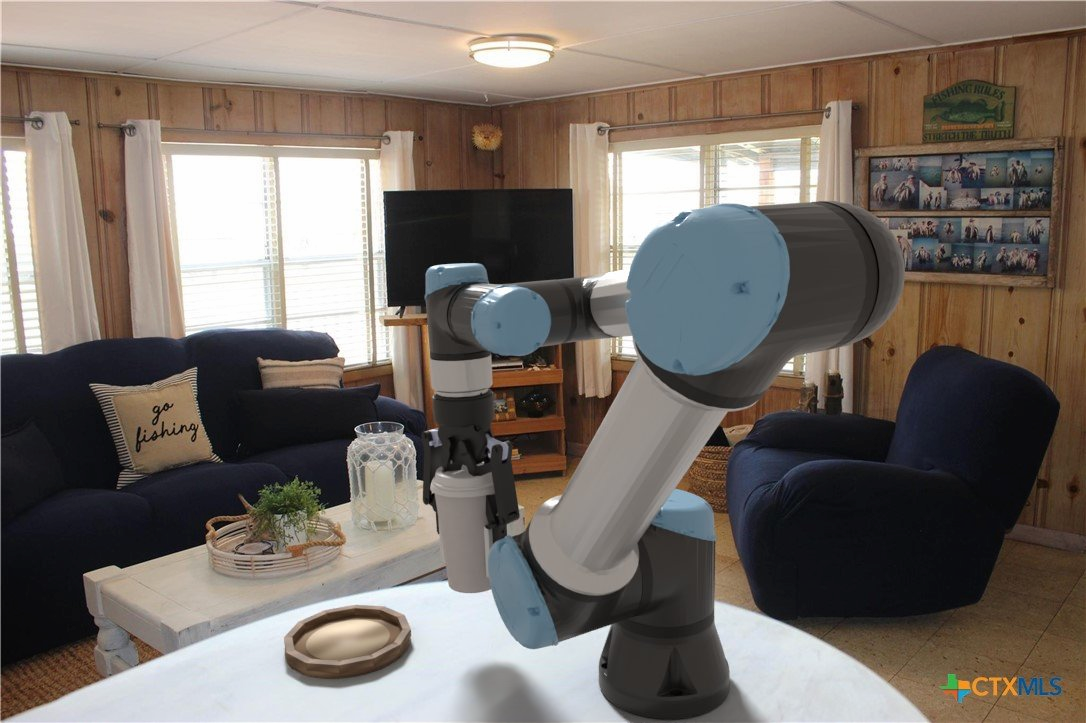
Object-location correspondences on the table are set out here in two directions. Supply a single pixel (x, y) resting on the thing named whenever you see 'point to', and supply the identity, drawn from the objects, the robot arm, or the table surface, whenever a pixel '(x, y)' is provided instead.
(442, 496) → the coffee cup
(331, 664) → the polygonal wooden dish
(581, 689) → the table surface
